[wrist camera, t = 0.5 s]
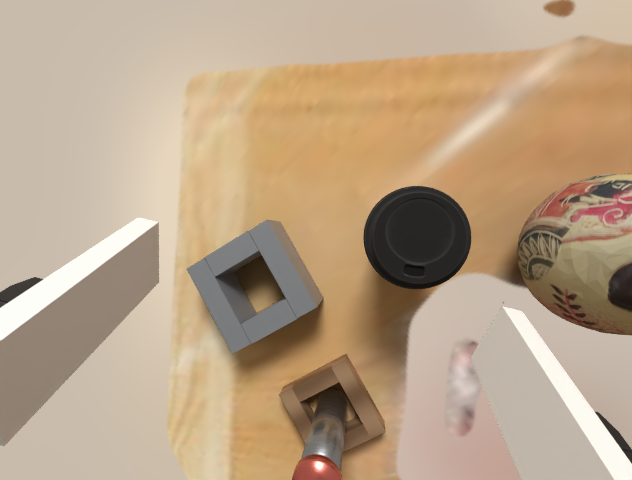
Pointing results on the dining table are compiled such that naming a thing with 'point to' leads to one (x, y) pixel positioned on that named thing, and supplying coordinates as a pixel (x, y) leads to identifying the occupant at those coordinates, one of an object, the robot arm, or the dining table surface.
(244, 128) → the dining table surface
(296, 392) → the mount collar
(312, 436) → the lock pin
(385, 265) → the coffee cup
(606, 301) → the ceramic jug
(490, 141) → the dining table surface
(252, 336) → the block
